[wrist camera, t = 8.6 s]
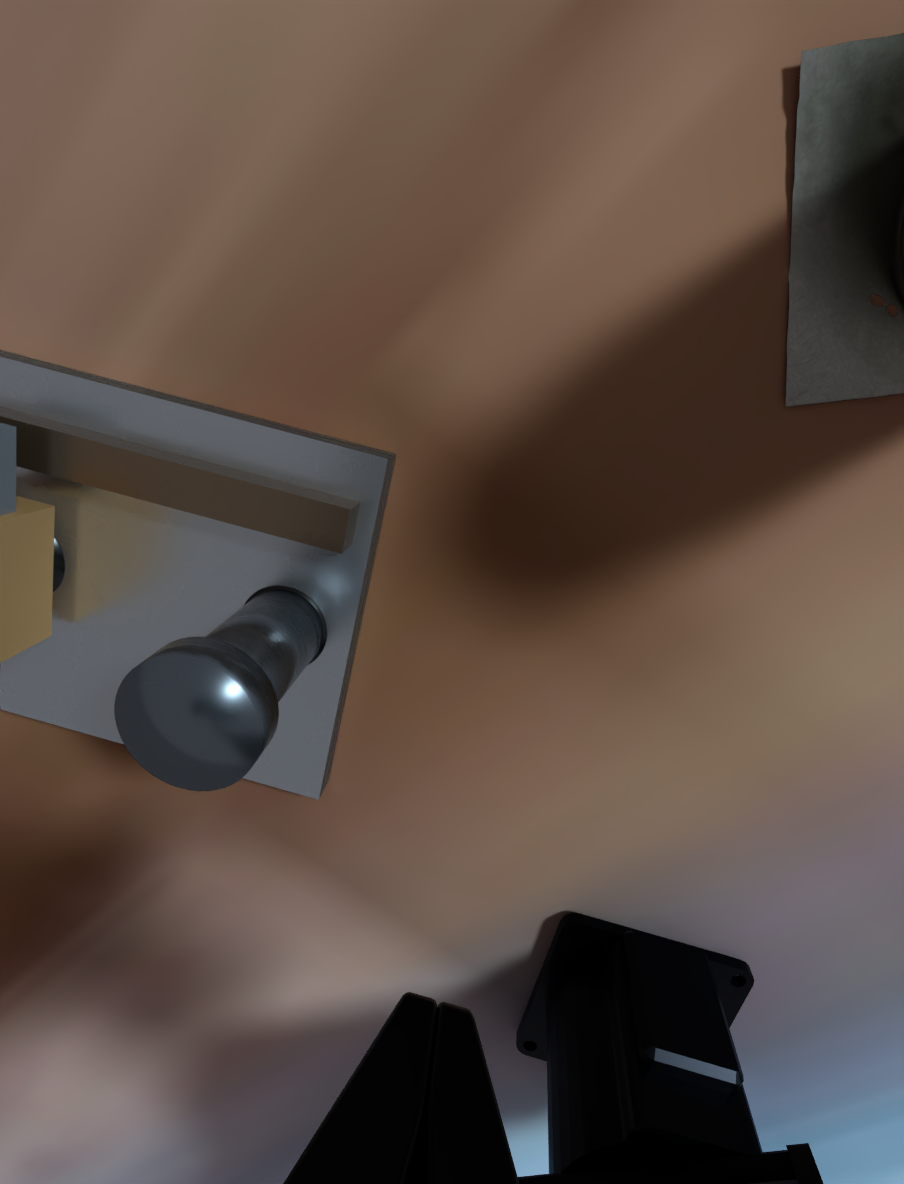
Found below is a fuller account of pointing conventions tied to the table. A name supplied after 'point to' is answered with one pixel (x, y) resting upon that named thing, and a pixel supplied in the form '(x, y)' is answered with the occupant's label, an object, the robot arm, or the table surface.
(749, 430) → the table surface
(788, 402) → the condiment
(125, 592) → the plate
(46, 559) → the leg
